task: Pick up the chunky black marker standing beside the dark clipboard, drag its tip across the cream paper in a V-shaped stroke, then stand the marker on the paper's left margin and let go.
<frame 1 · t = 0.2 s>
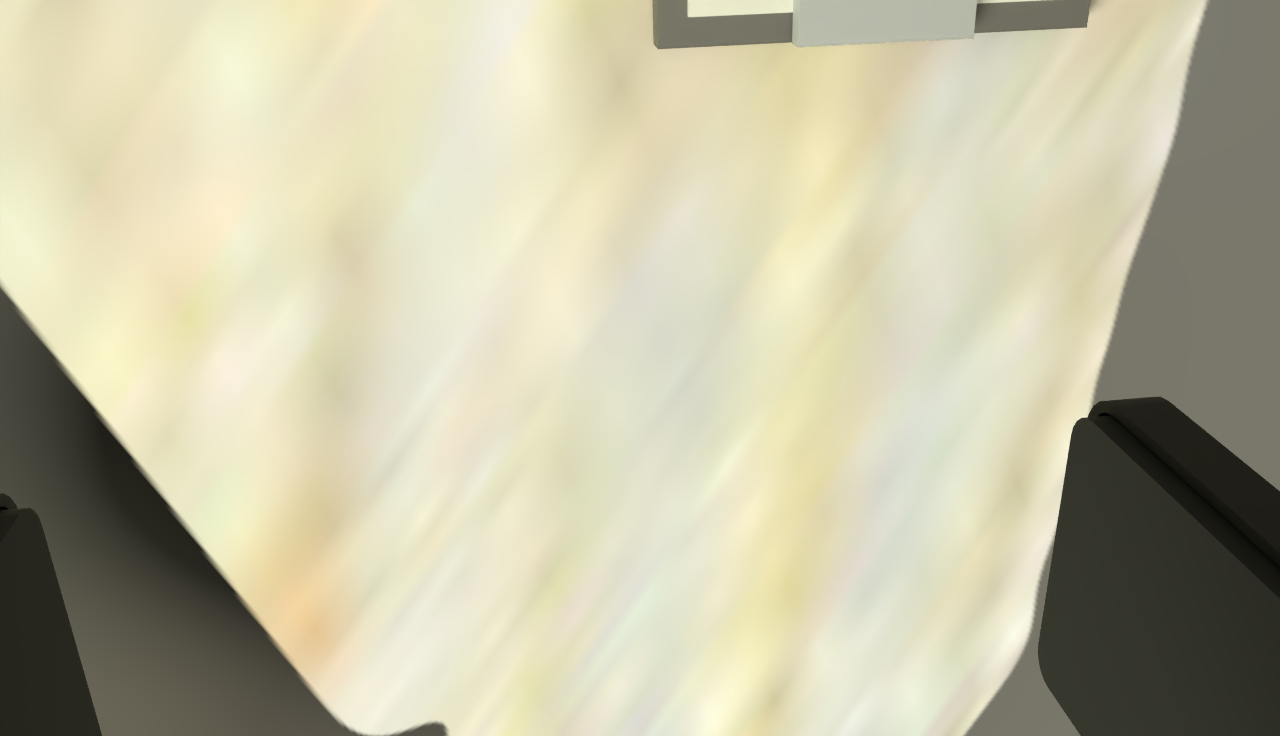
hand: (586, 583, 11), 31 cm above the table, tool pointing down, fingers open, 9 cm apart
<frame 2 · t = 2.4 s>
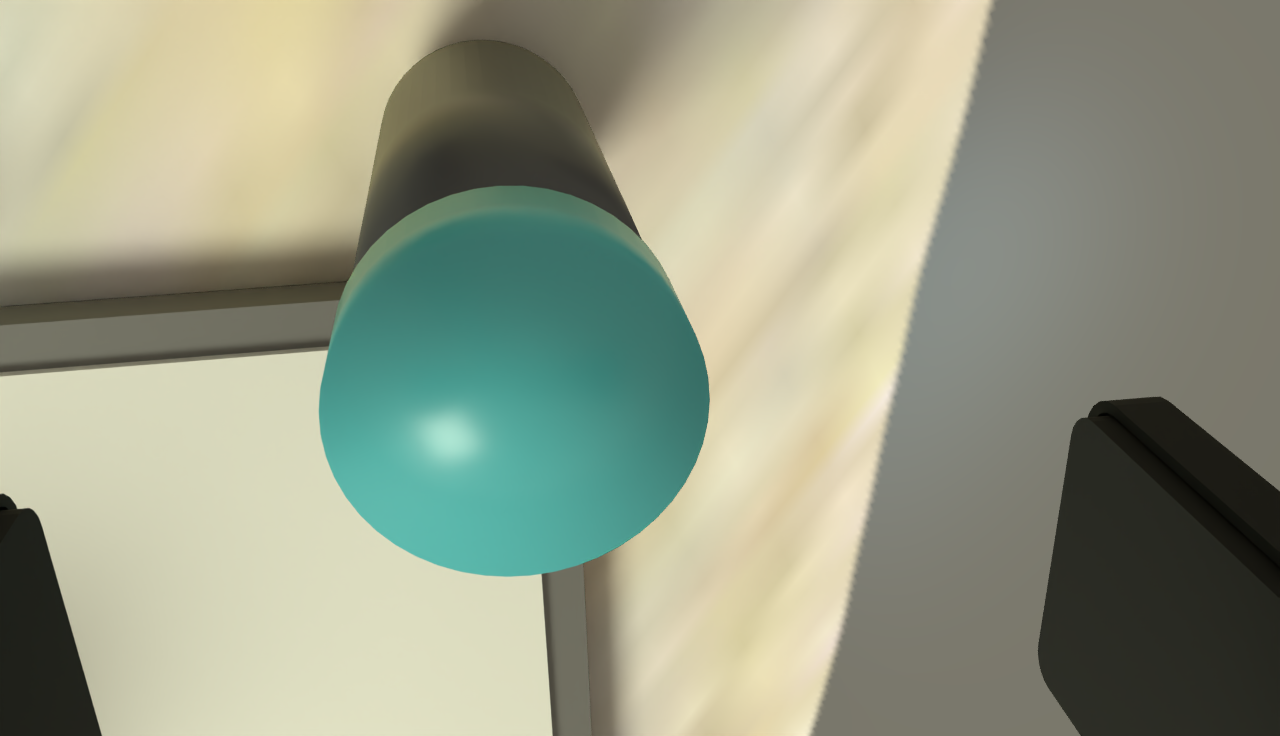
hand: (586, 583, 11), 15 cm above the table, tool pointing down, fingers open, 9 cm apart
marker: (483, 132, 23), on the table
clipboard: (286, 700, 29), on the table
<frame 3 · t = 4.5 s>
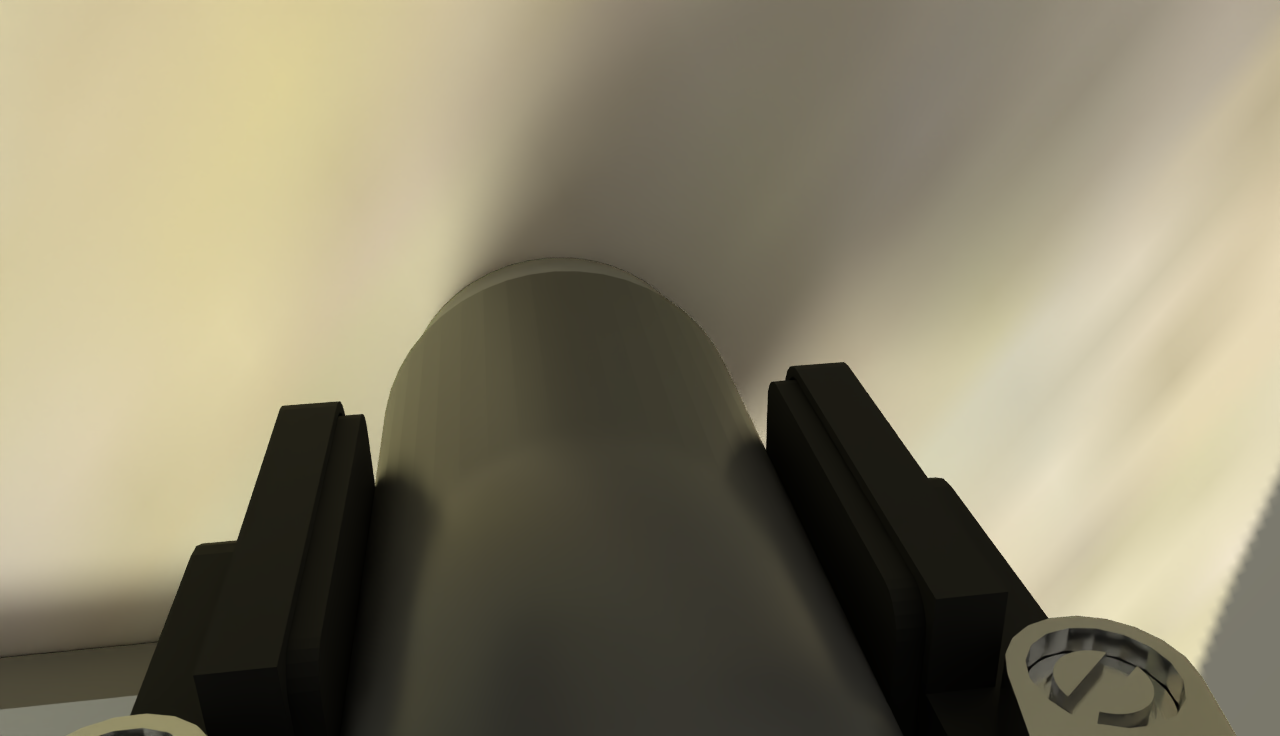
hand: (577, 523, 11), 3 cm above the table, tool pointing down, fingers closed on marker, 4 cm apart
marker: (557, 398, 14), on the table, touching gripper
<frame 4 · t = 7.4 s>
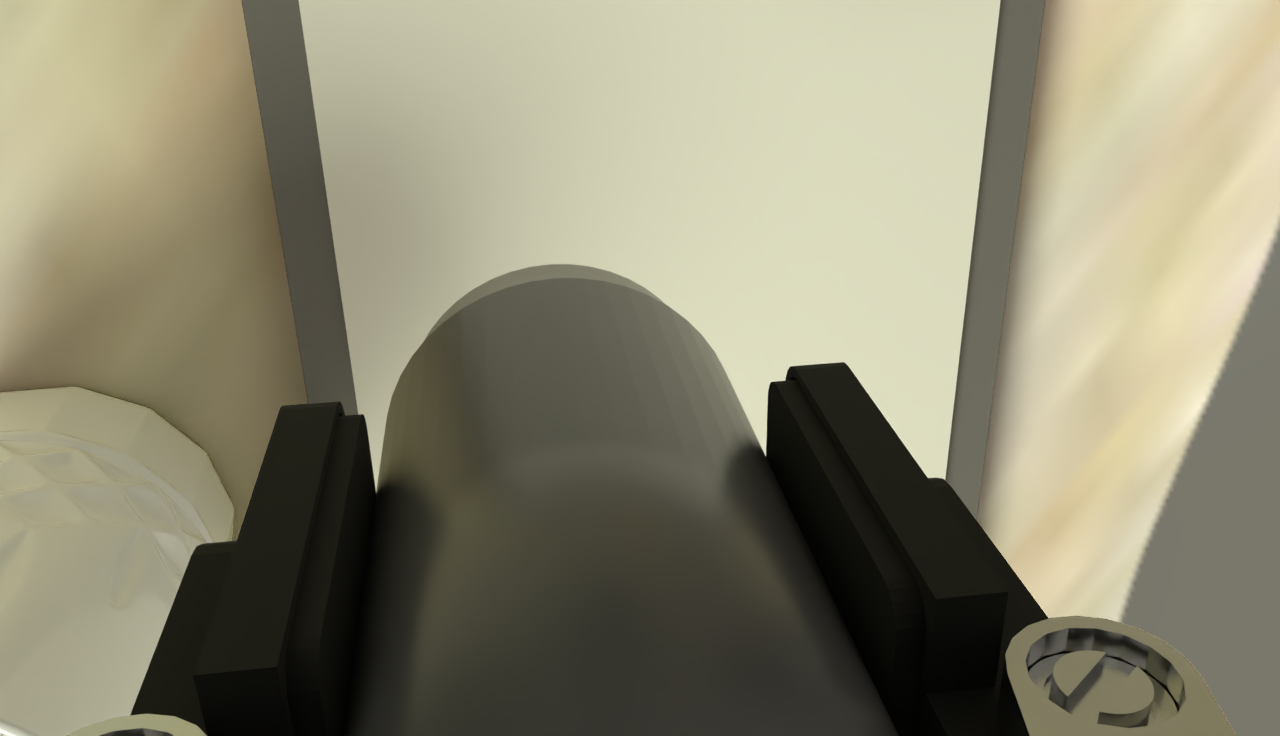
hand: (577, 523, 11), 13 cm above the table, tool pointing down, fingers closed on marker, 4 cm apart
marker: (558, 403, 14), point 10 cm above the table, touching gripper
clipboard: (658, 310, 25), on the table
white cup: (80, 514, 26), on the table
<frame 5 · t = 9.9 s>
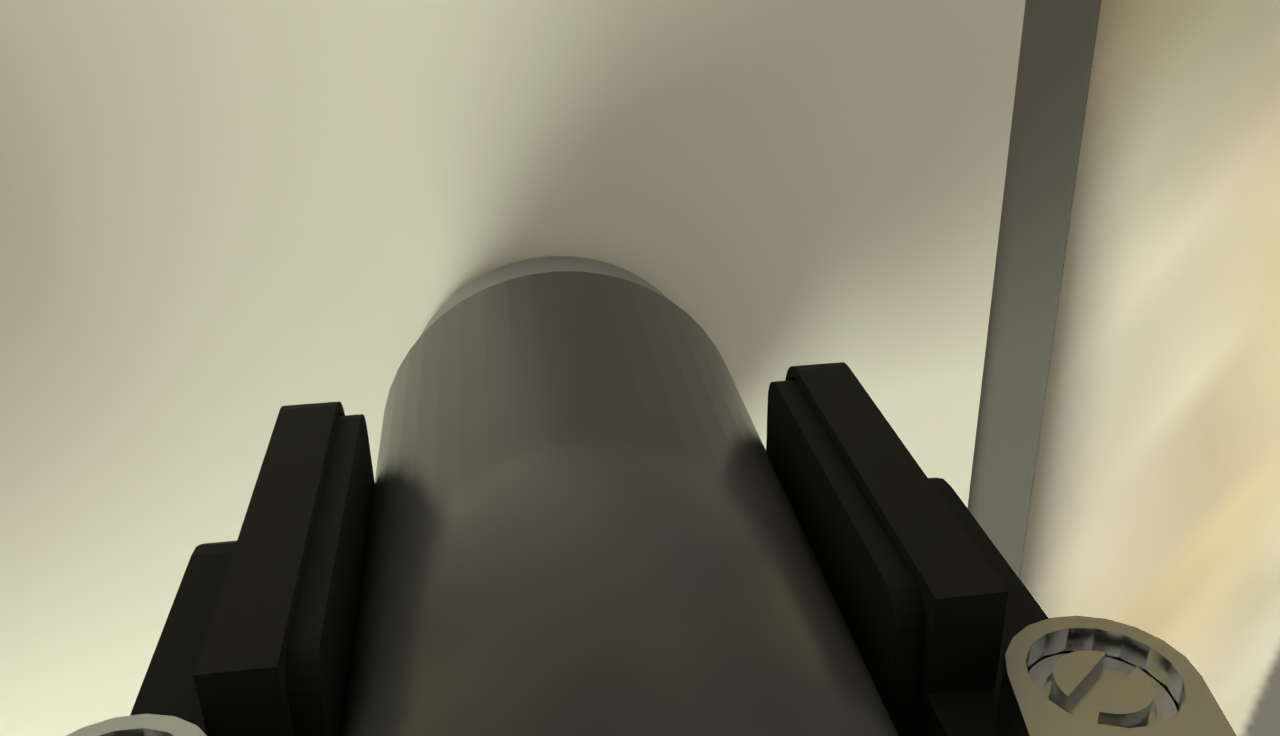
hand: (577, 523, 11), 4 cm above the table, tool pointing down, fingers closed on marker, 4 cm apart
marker: (557, 396, 14), point 1 cm above the table, touching gripper
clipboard: (465, 305, 15), on the table
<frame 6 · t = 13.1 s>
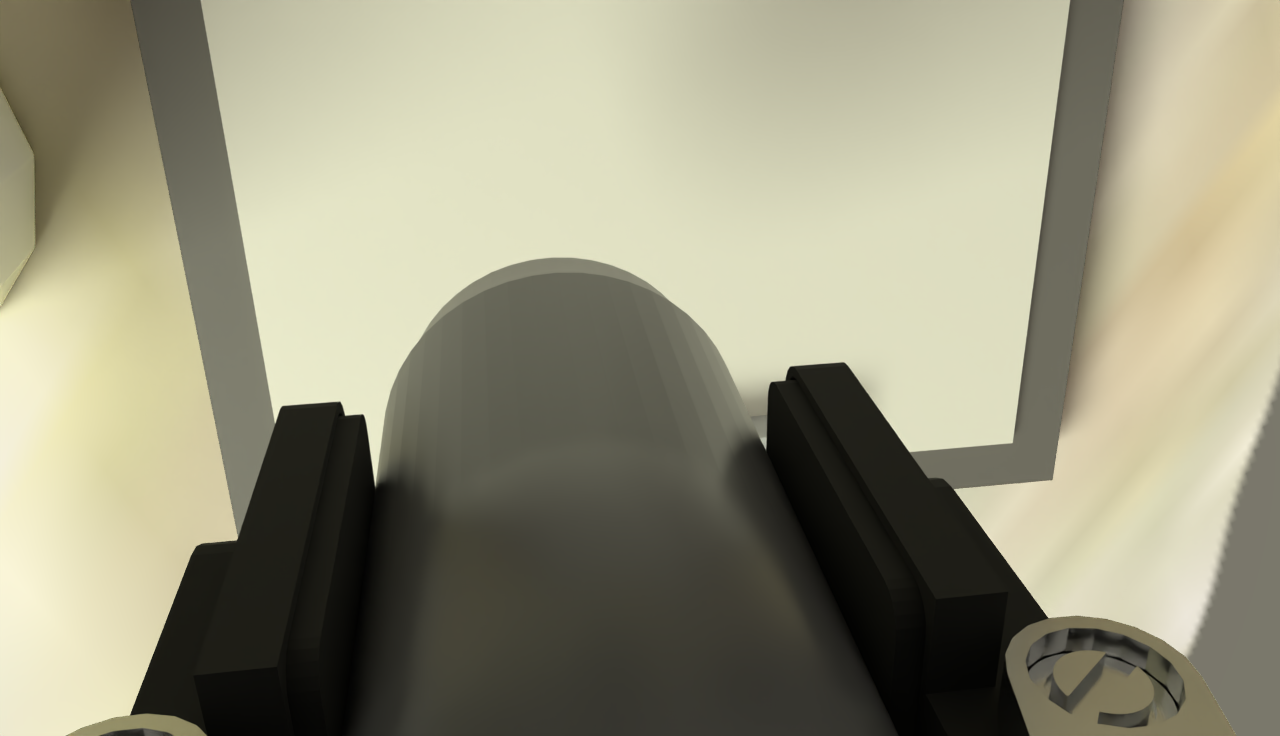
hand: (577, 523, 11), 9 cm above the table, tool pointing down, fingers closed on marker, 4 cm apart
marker: (558, 397, 14), point 6 cm above the table, touching gripper
when the fingers open (4 cm above the table, at t = 15.7 s): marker stays where it is, resting on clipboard.
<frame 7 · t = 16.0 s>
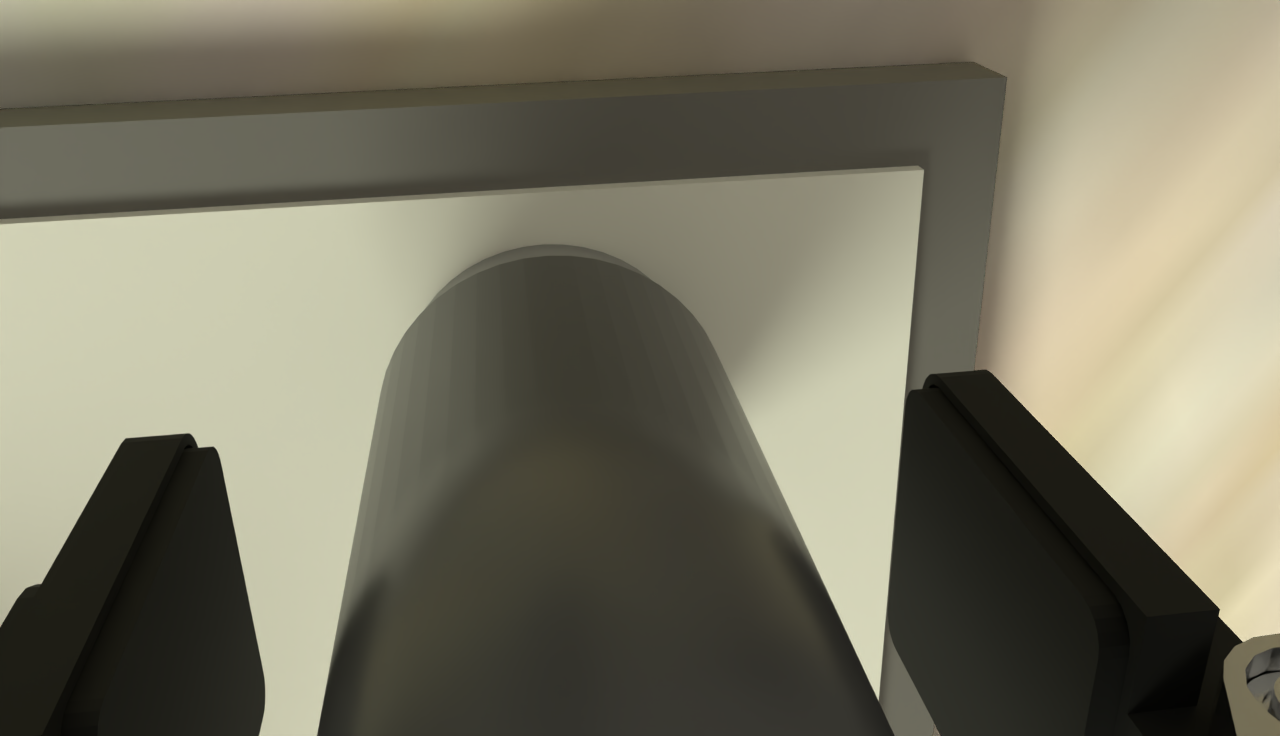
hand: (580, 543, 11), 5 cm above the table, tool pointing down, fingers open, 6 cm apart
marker: (551, 384, 14), point 1 cm above the table, touching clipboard
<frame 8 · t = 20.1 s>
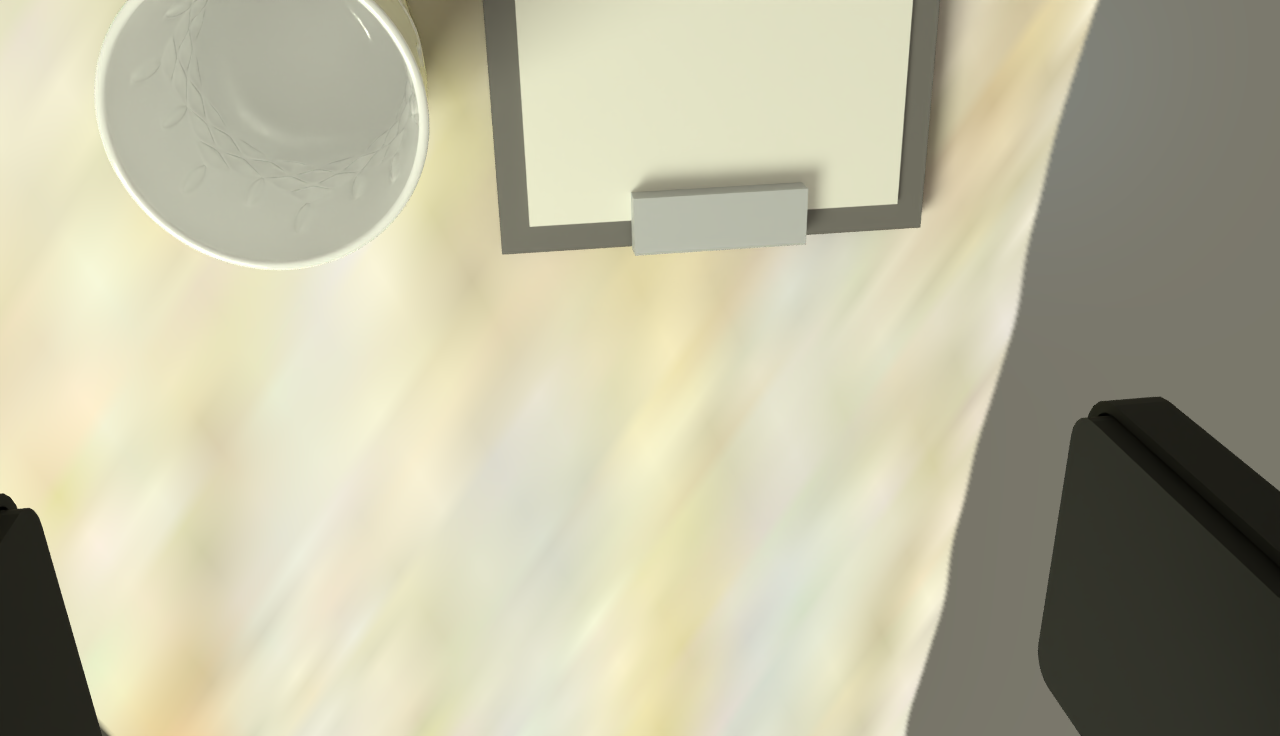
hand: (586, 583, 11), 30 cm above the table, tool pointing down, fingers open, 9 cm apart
white cup: (315, 48, 37), on the table
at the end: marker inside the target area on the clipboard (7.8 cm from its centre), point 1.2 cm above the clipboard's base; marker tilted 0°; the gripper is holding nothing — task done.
